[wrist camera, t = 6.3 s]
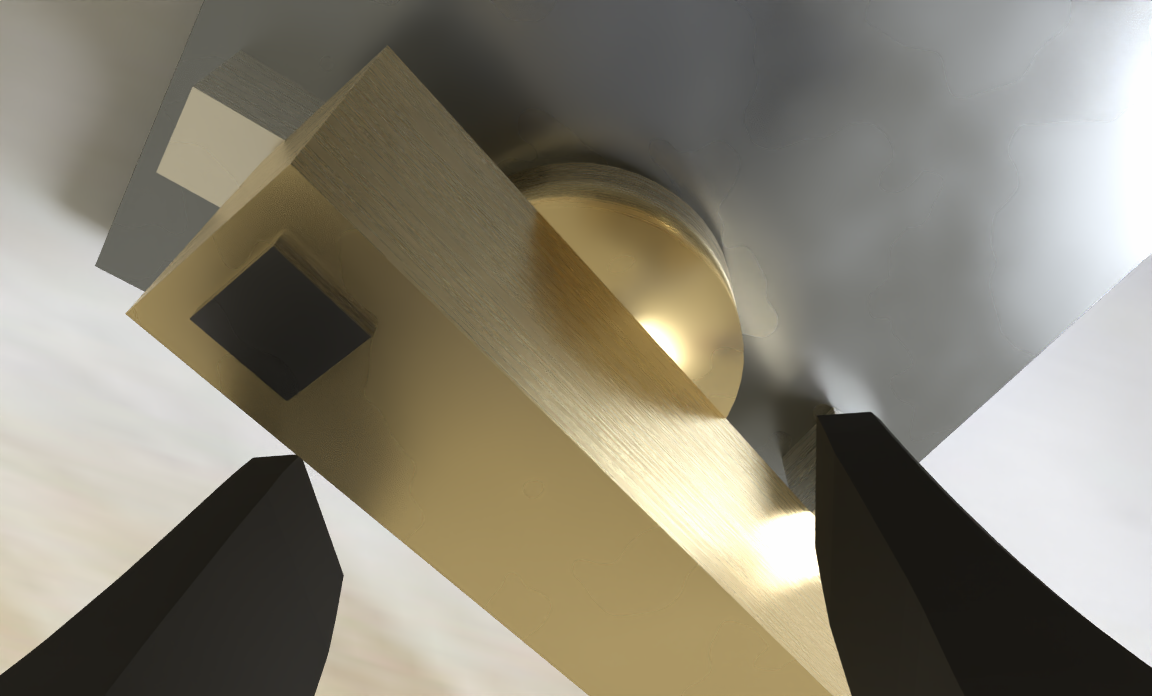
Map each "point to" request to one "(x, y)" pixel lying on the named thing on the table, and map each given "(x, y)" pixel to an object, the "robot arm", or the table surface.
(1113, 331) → the table surface
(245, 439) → the table surface
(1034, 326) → the plate
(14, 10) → the table surface
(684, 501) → the gold bar with dome
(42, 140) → the table surface
